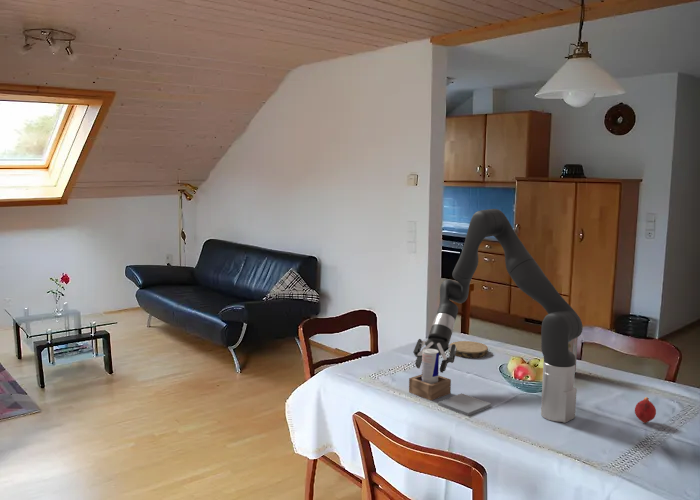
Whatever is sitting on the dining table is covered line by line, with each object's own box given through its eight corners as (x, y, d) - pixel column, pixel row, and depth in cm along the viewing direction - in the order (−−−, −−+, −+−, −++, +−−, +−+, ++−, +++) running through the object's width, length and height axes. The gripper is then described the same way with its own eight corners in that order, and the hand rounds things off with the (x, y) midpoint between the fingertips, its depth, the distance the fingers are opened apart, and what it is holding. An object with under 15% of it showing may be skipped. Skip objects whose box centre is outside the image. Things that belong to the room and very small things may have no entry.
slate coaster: (491, 406, 197) (491, 403, 196) (467, 416, 189) (467, 413, 189) (461, 396, 206) (461, 393, 205) (438, 404, 198) (438, 401, 198)
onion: (654, 428, 180) (655, 402, 179) (632, 424, 183) (634, 398, 182) (656, 421, 185) (657, 396, 184) (635, 417, 188) (637, 392, 187)
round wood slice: (479, 361, 244) (479, 354, 244) (442, 354, 253) (443, 347, 253) (493, 351, 258) (493, 344, 257) (458, 345, 266) (458, 339, 266)
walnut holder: (450, 393, 208) (450, 379, 207) (430, 400, 201) (431, 386, 201) (428, 385, 215) (428, 372, 215) (408, 392, 209) (409, 378, 208)
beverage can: (437, 396, 205) (438, 353, 203) (420, 395, 206) (421, 352, 204) (438, 390, 210) (439, 348, 209) (422, 389, 212) (423, 347, 210)
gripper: (420, 320, 216) (407, 360, 207) (459, 326, 209) (446, 367, 200) (425, 332, 221) (412, 371, 213) (463, 337, 214) (451, 378, 206)
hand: (429, 369), depth 207 cm, fingers open, 8 cm apart
